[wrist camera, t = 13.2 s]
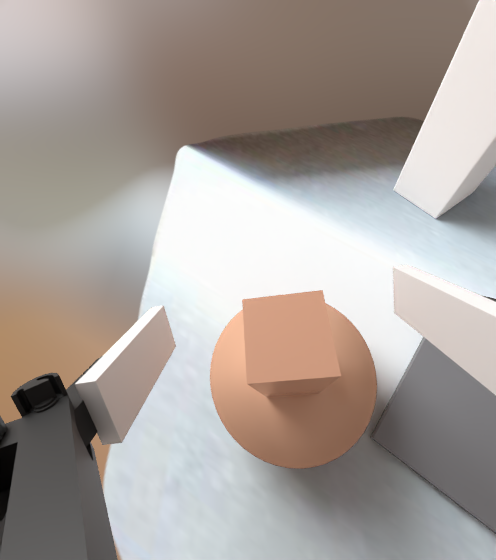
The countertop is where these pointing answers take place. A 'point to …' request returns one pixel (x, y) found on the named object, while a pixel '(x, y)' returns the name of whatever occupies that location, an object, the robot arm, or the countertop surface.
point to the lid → (293, 380)
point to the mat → (445, 430)
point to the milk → (457, 124)
